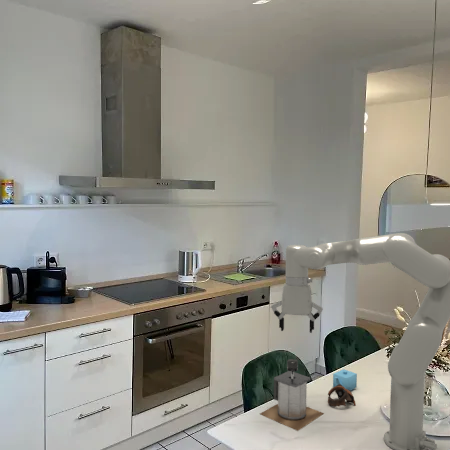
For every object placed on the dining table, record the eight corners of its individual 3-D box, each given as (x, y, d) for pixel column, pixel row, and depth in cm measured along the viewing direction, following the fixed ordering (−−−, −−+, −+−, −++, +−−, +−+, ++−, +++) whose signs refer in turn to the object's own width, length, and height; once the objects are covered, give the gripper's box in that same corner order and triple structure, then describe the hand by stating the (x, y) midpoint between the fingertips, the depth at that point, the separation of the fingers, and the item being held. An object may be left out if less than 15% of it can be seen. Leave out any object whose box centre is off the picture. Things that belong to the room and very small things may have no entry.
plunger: (305, 406, 155) (306, 360, 154) (294, 413, 151) (294, 366, 149) (289, 400, 160) (290, 356, 159) (278, 406, 155) (278, 361, 154)
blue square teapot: (341, 397, 171) (341, 378, 170) (327, 392, 176) (328, 373, 175) (358, 388, 179) (359, 369, 178) (345, 383, 183) (345, 365, 183)
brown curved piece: (360, 413, 159) (351, 396, 157) (336, 423, 161) (326, 406, 158) (352, 391, 170) (344, 374, 168) (329, 400, 172) (321, 383, 170)
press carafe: (311, 413, 156) (312, 377, 155) (295, 423, 148) (295, 386, 148) (283, 402, 164) (283, 368, 163) (266, 411, 157) (266, 375, 156)
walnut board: (324, 416, 156) (324, 413, 156) (297, 434, 144) (297, 430, 144) (286, 401, 167) (286, 398, 167) (259, 417, 155) (259, 413, 155)
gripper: (323, 280, 154) (322, 329, 155) (272, 278, 158) (272, 326, 159) (322, 284, 147) (322, 335, 148) (270, 282, 151) (269, 332, 152)
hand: (296, 330), depth 154 cm, fingers open, 9 cm apart
